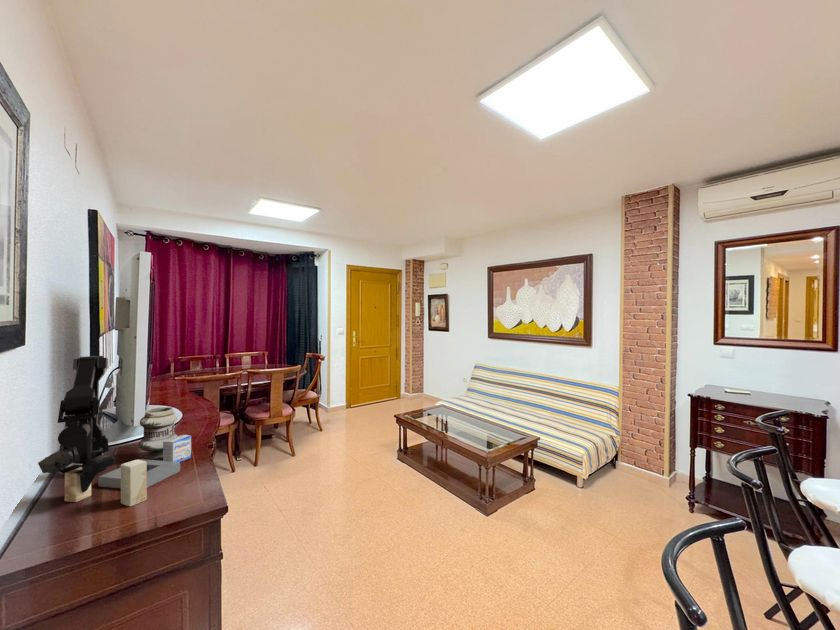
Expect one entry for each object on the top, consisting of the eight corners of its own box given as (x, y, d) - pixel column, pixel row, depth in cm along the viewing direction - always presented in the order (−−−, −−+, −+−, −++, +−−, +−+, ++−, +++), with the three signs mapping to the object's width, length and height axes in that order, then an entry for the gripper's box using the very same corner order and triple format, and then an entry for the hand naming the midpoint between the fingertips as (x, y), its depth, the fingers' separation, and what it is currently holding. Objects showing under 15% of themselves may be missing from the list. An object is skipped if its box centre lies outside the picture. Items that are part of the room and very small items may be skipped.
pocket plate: (98, 486, 110) (98, 476, 110) (140, 467, 123) (140, 459, 124) (141, 490, 107) (141, 480, 107) (180, 471, 121) (180, 462, 121)
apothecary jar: (138, 465, 125) (139, 415, 126) (138, 455, 135) (139, 408, 135) (179, 457, 133) (180, 409, 133) (176, 448, 142) (177, 403, 143)
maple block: (64, 500, 101) (64, 473, 101) (80, 494, 105) (80, 467, 105) (75, 502, 100) (76, 474, 100) (91, 495, 104) (91, 468, 104)
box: (147, 500, 101) (147, 461, 101) (129, 507, 97) (130, 467, 98) (137, 496, 103) (137, 458, 104) (119, 503, 100) (120, 464, 100)
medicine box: (172, 466, 125) (173, 442, 125) (162, 465, 126) (162, 441, 126) (191, 457, 132) (191, 434, 133) (181, 457, 133) (181, 434, 133)
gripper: (18, 445, 96) (17, 502, 96) (73, 449, 93) (72, 508, 93) (65, 432, 107) (64, 483, 107) (116, 435, 104) (115, 488, 104)
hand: (78, 491), depth 102 cm, fingers closed on maple block, 4 cm apart
